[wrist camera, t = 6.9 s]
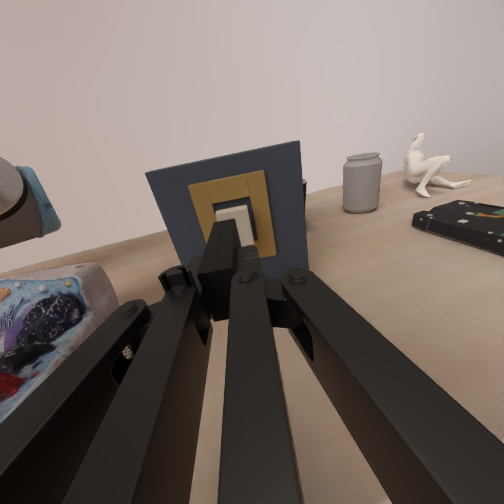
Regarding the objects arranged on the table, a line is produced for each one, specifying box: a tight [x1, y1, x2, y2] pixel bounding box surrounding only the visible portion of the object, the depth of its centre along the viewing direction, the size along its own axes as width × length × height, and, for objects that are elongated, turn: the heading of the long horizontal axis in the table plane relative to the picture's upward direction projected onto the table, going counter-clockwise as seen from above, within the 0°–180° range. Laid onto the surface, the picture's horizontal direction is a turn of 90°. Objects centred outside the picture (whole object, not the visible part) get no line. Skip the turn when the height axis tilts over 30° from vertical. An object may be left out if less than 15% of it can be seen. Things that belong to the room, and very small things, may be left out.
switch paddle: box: [215, 205, 255, 246], centre depth 22 cm, size 1×3×4 cm, turn 94°
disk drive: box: [412, 200, 504, 255], centre depth 32 cm, size 10×3×15 cm
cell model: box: [0, 262, 119, 423], centre depth 20 cm, size 13×11×20 cm
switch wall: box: [145, 141, 309, 319], centre depth 28 cm, size 12×16×18 cm
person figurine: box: [403, 133, 471, 197], centre depth 54 cm, size 13×13×18 cm
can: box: [343, 153, 382, 213], centre depth 47 cm, size 8×8×12 cm
